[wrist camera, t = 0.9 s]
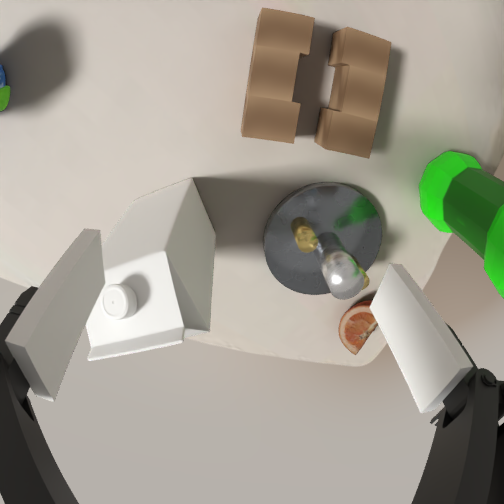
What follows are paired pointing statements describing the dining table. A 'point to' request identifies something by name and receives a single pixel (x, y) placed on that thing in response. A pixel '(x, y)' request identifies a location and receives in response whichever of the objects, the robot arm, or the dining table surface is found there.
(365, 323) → the fruit slice
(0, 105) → the snack cup
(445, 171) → the plastic bottle
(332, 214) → the post base
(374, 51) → the flange block
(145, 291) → the milk carton
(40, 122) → the dining table surface
